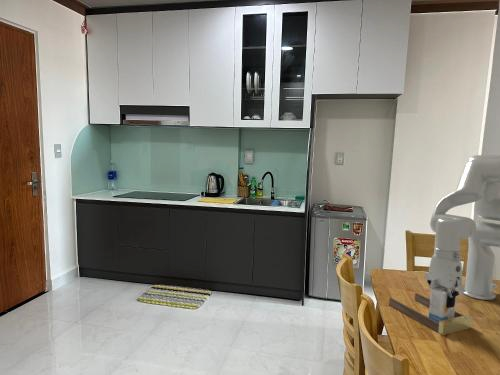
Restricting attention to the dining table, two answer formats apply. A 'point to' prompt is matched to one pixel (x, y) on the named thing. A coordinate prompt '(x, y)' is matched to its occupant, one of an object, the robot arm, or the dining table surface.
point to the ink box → (440, 303)
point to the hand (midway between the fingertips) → (442, 302)
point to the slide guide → (442, 327)
